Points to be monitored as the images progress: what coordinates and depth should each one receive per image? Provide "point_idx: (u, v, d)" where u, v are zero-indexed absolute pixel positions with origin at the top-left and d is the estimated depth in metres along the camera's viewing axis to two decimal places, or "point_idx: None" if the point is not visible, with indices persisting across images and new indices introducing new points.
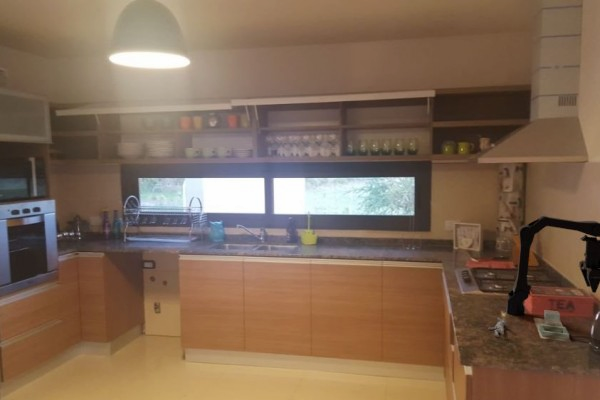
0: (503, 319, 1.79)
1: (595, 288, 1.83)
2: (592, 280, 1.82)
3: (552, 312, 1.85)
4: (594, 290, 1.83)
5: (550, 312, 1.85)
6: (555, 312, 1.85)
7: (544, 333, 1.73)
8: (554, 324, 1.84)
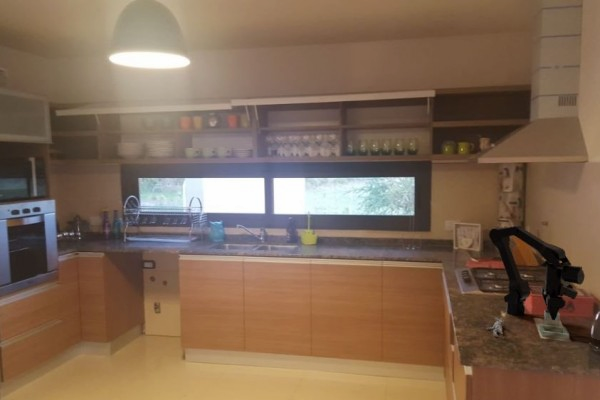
0: (501, 319, 1.80)
1: (554, 315, 1.81)
2: (551, 307, 1.80)
3: None
4: (553, 317, 1.81)
5: None
6: None
7: (544, 333, 1.73)
8: (554, 324, 1.84)
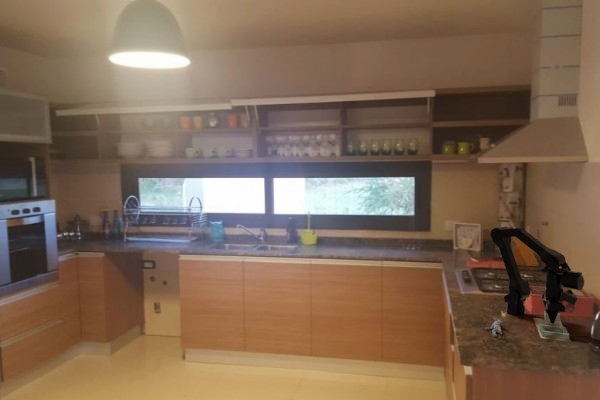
0: (500, 319, 1.80)
1: (553, 319, 1.83)
2: (550, 311, 1.83)
3: None
4: (552, 321, 1.84)
5: None
6: None
7: (544, 333, 1.73)
8: (554, 324, 1.84)
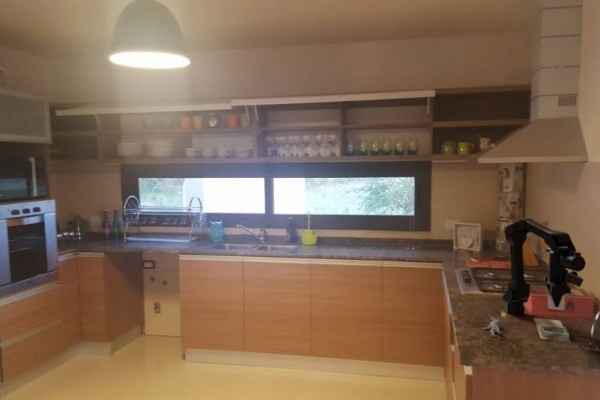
0: (497, 318, 1.80)
1: (558, 302, 1.72)
2: (554, 294, 1.71)
3: None
4: (557, 304, 1.72)
5: None
6: None
7: (544, 333, 1.73)
8: (559, 308, 1.73)
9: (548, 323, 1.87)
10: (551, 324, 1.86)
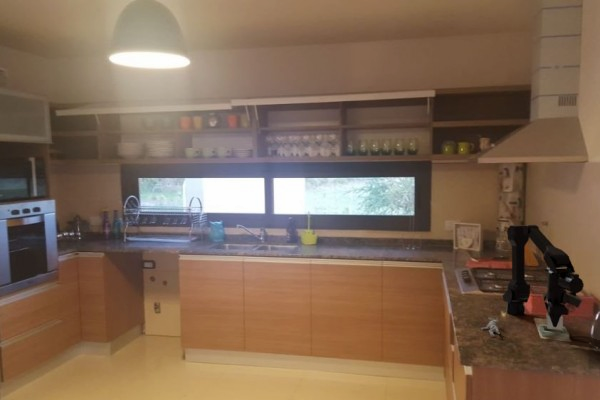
0: (496, 318, 1.80)
1: (556, 322, 1.72)
2: (552, 314, 1.72)
3: None
4: (555, 324, 1.73)
5: None
6: None
7: (544, 333, 1.73)
8: (557, 328, 1.73)
9: None
10: None
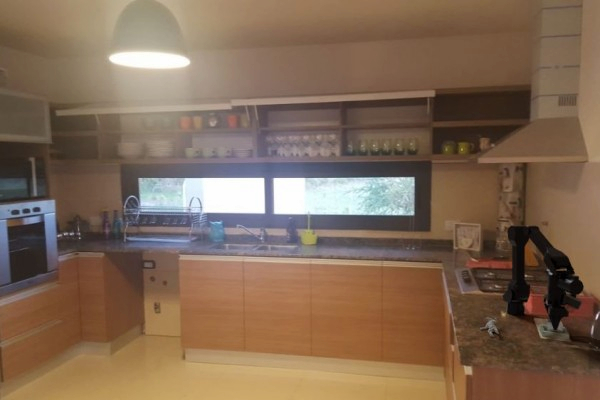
0: (495, 318, 1.80)
1: (556, 325, 1.71)
2: (553, 317, 1.71)
3: None
4: (555, 327, 1.72)
5: None
6: None
7: (544, 333, 1.73)
8: None
9: None
10: None
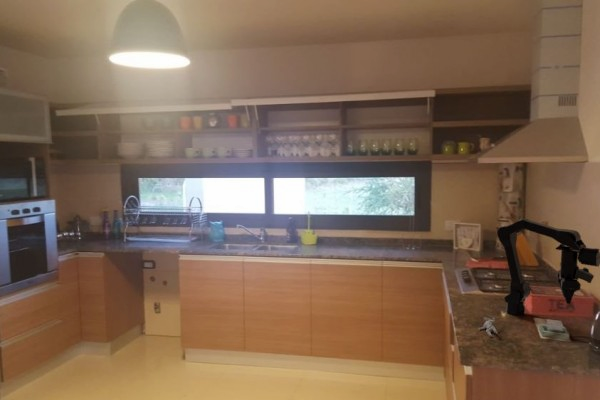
0: (493, 318, 1.80)
1: (569, 299, 1.78)
2: (566, 291, 1.77)
3: (554, 322, 1.75)
4: (568, 301, 1.78)
5: (553, 322, 1.74)
6: (557, 322, 1.74)
7: (544, 333, 1.73)
8: None
9: None
10: None
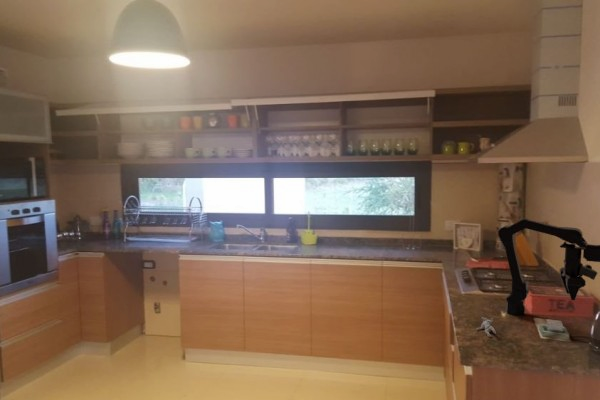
0: (491, 318, 1.80)
1: (574, 296, 1.81)
2: (571, 288, 1.81)
3: (554, 322, 1.75)
4: (573, 297, 1.82)
5: (553, 322, 1.74)
6: (557, 322, 1.74)
7: (544, 333, 1.73)
8: None
9: None
10: None
